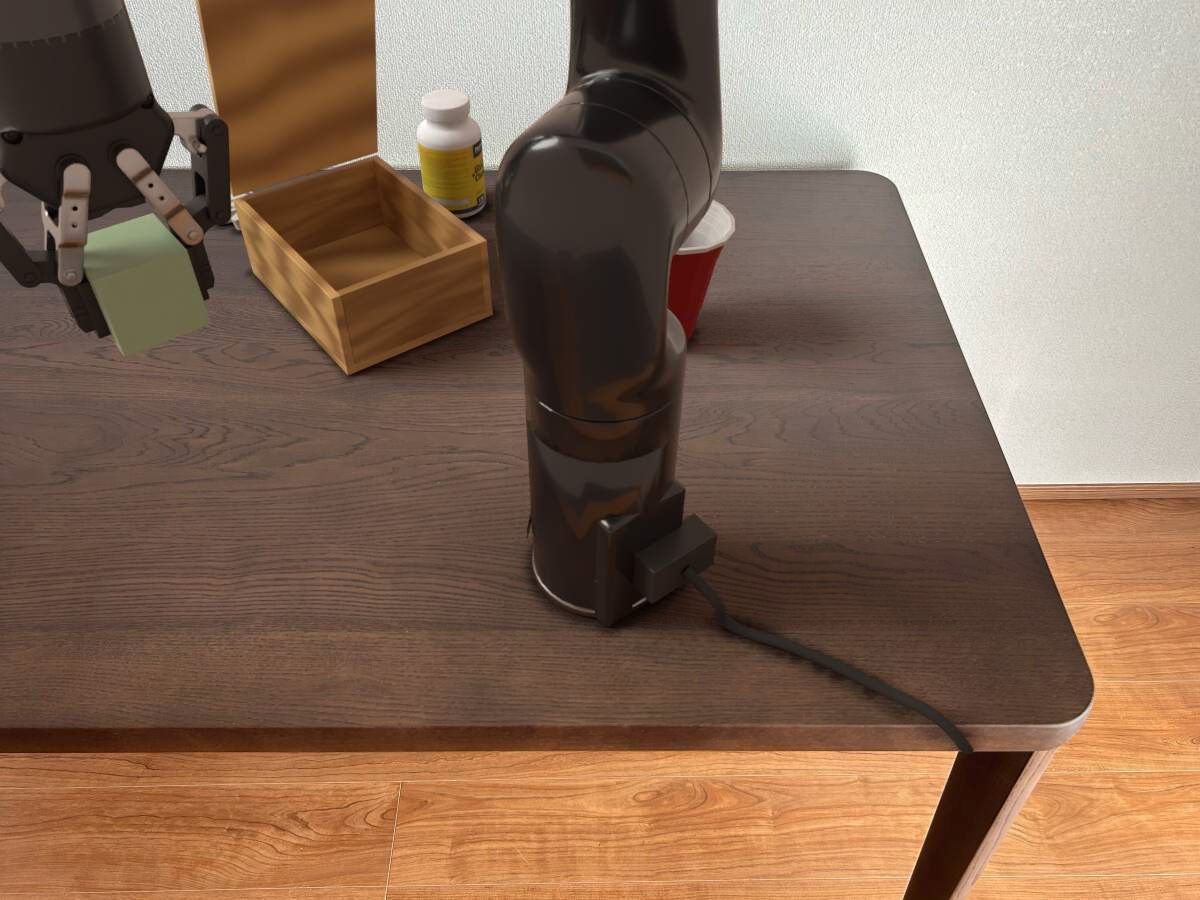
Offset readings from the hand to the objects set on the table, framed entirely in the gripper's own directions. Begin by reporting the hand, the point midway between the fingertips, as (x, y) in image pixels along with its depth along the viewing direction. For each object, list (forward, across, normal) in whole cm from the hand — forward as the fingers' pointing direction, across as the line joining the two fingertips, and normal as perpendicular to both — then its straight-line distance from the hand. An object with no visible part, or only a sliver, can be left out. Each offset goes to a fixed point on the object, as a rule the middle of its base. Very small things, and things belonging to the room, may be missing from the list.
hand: (150, 311), depth 56 cm
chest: (+19, +22, +21) cm, 36 cm away
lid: (+1, +22, +27) cm, 35 cm away
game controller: (+19, +22, +40) cm, 49 cm away
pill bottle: (+19, +37, +29) cm, 51 cm away
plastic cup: (+19, +40, -1) cm, 44 cm away
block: (+1, 0, 0) cm, 1 cm away
